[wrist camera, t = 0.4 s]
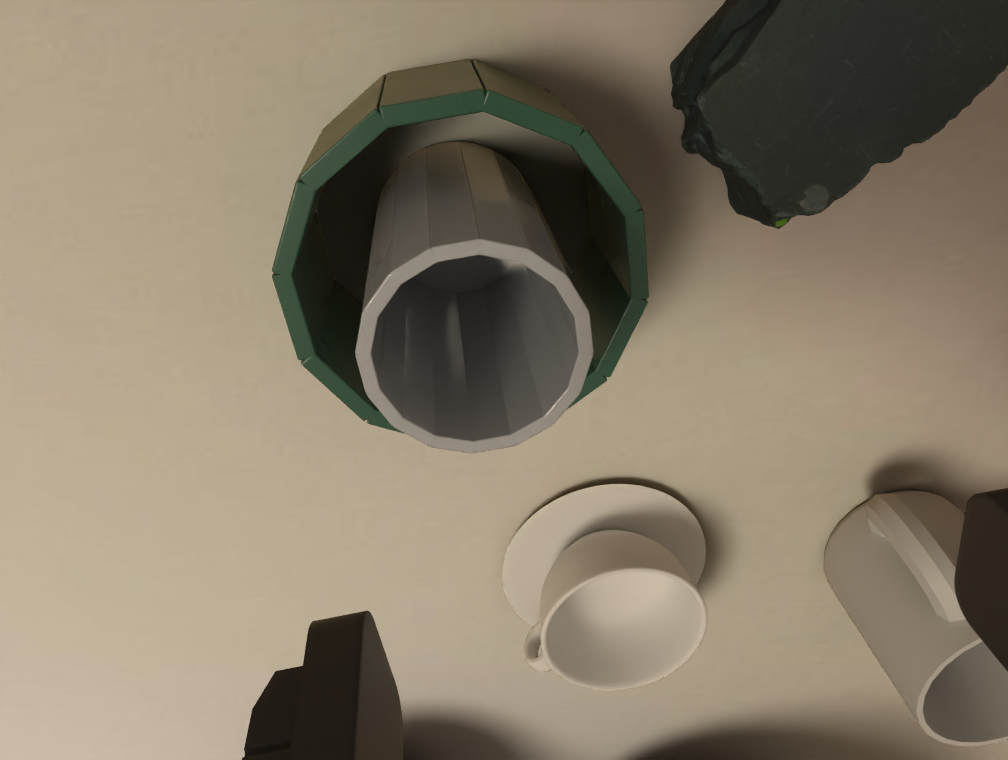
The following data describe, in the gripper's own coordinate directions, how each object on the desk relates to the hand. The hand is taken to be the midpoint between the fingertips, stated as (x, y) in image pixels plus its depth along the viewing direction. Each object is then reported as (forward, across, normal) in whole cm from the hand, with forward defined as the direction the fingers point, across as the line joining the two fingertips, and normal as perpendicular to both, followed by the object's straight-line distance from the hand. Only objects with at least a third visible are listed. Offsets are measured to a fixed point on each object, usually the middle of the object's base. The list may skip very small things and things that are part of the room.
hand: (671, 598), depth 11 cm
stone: (+22, -12, -3) cm, 25 cm away
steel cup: (+21, +2, +1) cm, 21 cm away
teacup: (+21, -2, +19) cm, 29 cm away
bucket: (+21, +2, +1) cm, 21 cm away
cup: (+21, -16, +20) cm, 33 cm away
